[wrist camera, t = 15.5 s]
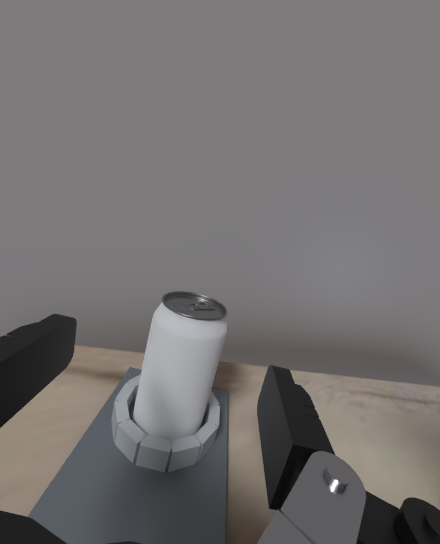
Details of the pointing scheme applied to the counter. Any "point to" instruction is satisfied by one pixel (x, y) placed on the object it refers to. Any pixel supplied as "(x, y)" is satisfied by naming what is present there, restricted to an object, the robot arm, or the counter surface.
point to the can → (179, 365)
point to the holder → (141, 480)
